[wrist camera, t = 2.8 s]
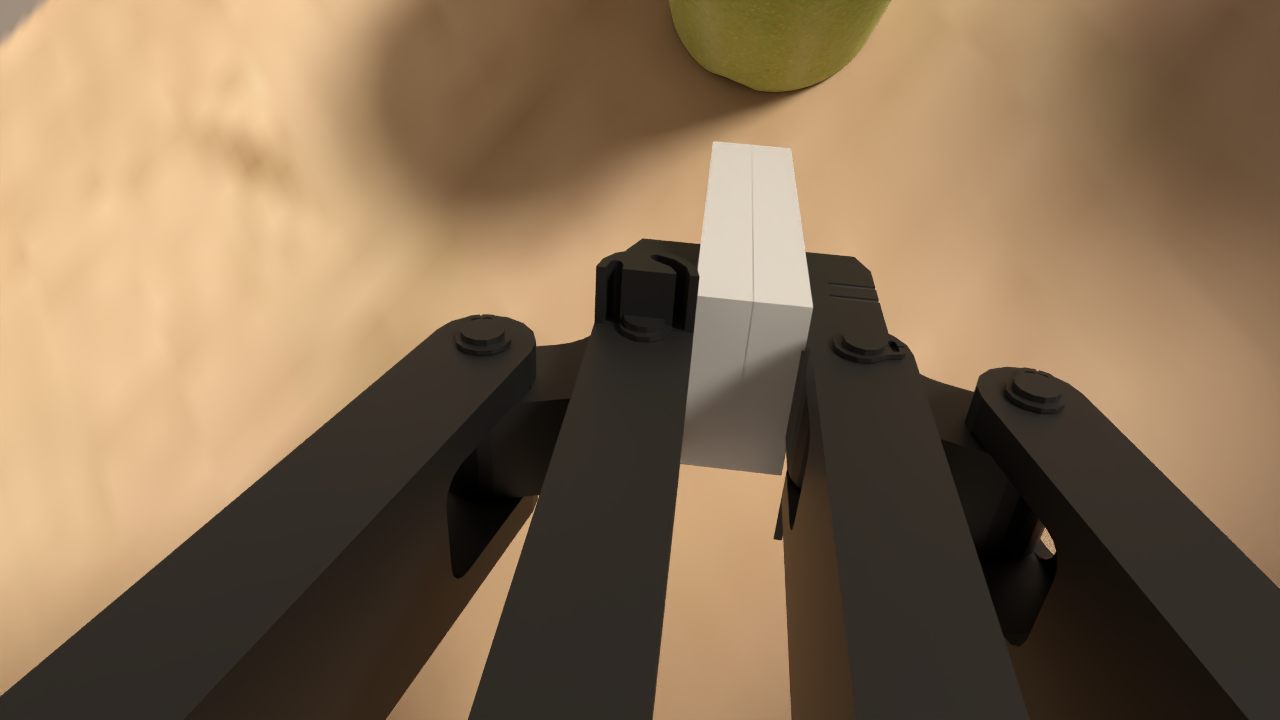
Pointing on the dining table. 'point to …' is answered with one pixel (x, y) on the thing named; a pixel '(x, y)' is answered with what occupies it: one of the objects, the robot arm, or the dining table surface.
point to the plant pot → (775, 38)
